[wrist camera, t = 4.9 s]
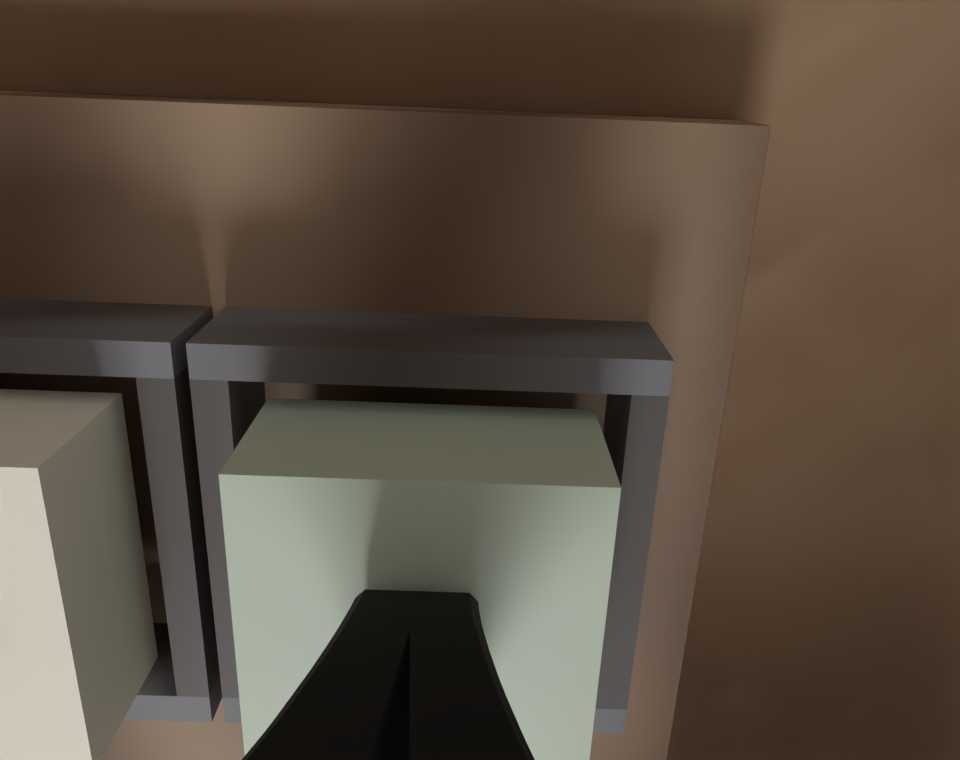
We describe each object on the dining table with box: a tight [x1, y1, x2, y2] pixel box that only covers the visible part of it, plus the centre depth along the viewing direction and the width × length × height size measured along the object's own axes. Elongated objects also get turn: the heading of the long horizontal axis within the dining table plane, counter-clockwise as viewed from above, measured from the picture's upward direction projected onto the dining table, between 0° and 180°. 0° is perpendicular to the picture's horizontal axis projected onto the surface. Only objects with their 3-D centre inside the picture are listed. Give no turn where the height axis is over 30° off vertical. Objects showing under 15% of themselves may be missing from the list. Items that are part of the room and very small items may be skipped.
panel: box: [0, 90, 771, 760], centre depth 13 cm, size 22×12×3 cm, turn 88°
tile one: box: [219, 398, 621, 760], centre depth 11 cm, size 4×4×2 cm
